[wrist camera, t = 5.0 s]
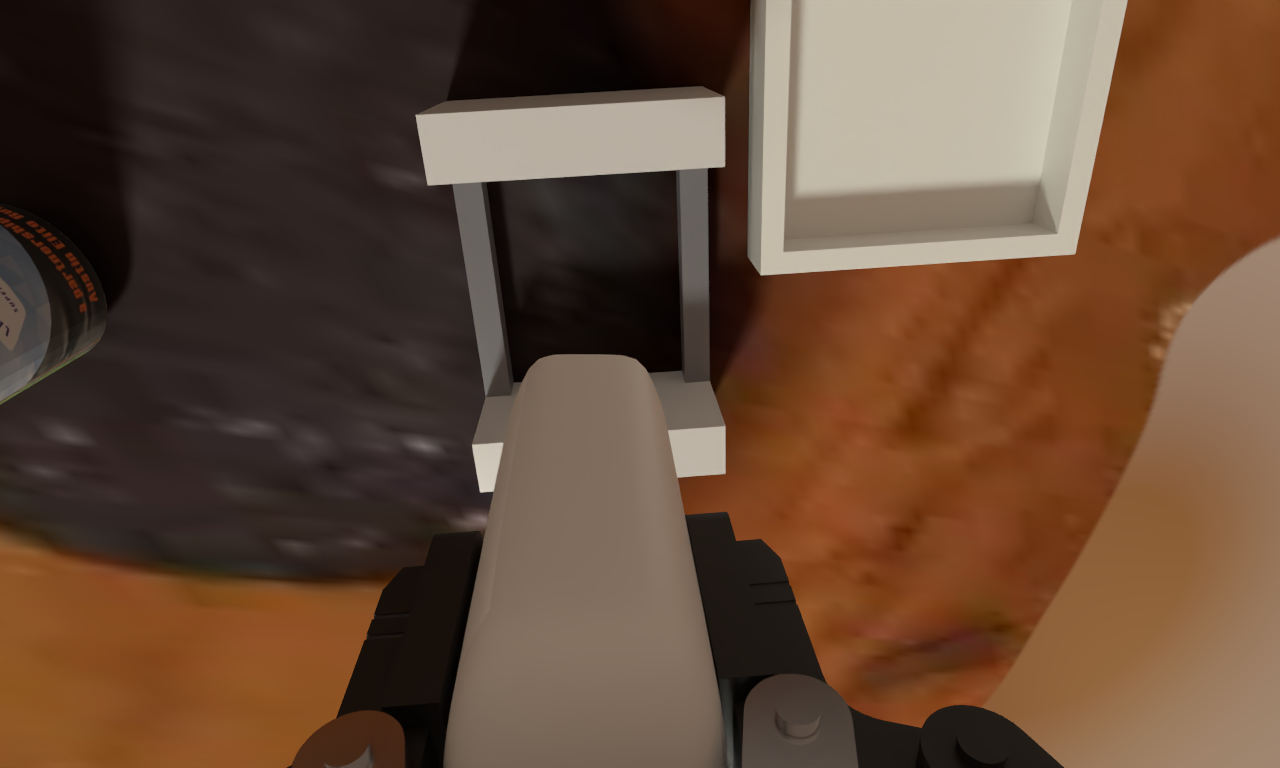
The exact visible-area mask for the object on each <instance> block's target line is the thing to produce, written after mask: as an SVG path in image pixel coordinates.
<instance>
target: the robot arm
mask: <svg viewBox="0 0 1280 768" xmlns="http://www.w3.org/2000/svg"><path fill="white" fill-rule="evenodd" d="M685 519H686V524H687V529H688V534H689V539H690V544H691V549H692V554H693V560H694V565H695V570H696V575H697V580H698V585H699V590H700V595H701V600H702V605H703V610H704V615H705V621H706V626H707V631H708V637H709V642H710V647H711V652H712V658H713V663H714V668H715V674H716V679H717V684H718V690H719V695H720V700H721V707H722V713H723V720H724V727H725V737H726V748H727V768H1064V767H1063V766H1062V765H1060V764H1059V763H1058V762H1057V761H1056V760H1055V759H1054V758H1053V757H1052V756H1050V755H1049V754H1048V753H1047V752H1046V751H1045V750H1044V749H1043V748H1042V747H1040V746H1039V745H1038V744H1037V743H1036V742H1035V741H1034V740H1033V739H1031V738H1030V737H1029V736H1028V735H1027V734H1026V733H1025V732H1024V731H1023V730H1021V729H1020V728H1019V727H1018V726H1016V725H1015V724H1014V723H1013V722H1011V721H1009V720H1008V719H1006V718H1004V717H1003V716H1001V715H999V714H997V713H995V712H992V711H989V710H986V709H984V708H979V707H975V706H967V705H954V706H949V707H945V708H942V709H939V710H937V711H936V712H934V713H933V714H931V715H930V716H929V717H928V718H927V719H926V721H925V723H924V725H923V727H922V728H919V727H914V726H909V725H903V724H898V723H893V722H888V721H883V720H879V719H876V718H872V717H870V716H867V715H864V714H862V713H860V712H858V711H856V710H855V709H853V708H851V707H850V706H848V705H847V704H846V702H845V701H844V699H843V698H842V697H841V696H840V695H839V693H838V692H837V691H835V690H834V689H833V688H832V687H830V686H829V685H828V684H827V683H826V681H825V678H824V676H823V674H822V671H821V668H820V666H819V663H818V660H817V657H816V655H815V652H814V649H813V646H812V644H811V641H810V638H809V635H808V633H807V630H806V627H805V624H804V622H803V619H802V616H801V613H800V610H799V608H798V605H796V599H795V597H794V594H793V591H792V588H791V586H789V580H788V577H787V575H786V572H785V569H784V566H783V564H782V561H781V558H780V557H779V556H778V555H777V554H776V553H775V552H774V551H773V550H772V549H771V548H770V547H769V546H768V545H767V544H765V543H764V542H763V541H762V540H761V539H757V540H744V541H736V539H735V535H734V532H733V528H732V525H731V522H730V518H729V515H728V513H727V512H718V513H706V514H693V515H685ZM482 546H483V539H482V535H481V533H480V532H479V531H473V532H460V533H448V534H436V535H434V537H433V539H432V542H431V545H430V549H429V552H428V555H427V559H426V562H425V565H424V566H416V567H404V568H403V569H402V570H401V571H400V572H399V573H398V574H397V575H396V576H395V577H394V578H393V580H392V581H391V582H390V583H389V584H388V585H387V586H386V587H385V588H384V589H383V591H382V594H381V597H380V599H379V602H378V605H377V608H376V610H375V613H374V620H372V621H371V624H370V627H369V630H368V632H367V640H365V641H364V643H363V646H362V649H361V652H360V654H359V657H358V660H357V663H356V665H355V668H354V671H353V673H352V676H351V679H350V682H349V684H348V687H347V690H346V693H345V695H344V698H343V701H342V704H341V706H340V709H339V712H338V715H337V717H336V719H334V720H332V721H330V722H329V723H327V724H325V725H324V726H322V727H321V728H320V729H318V730H317V731H316V732H315V733H313V734H312V735H311V736H310V737H309V738H308V739H307V740H306V742H305V743H304V744H303V745H302V746H301V748H300V750H299V751H298V753H297V754H296V756H295V759H294V761H293V763H292V765H291V766H289V767H287V768H443V761H444V749H445V741H446V733H447V726H448V720H449V714H450V707H451V702H452V697H453V692H454V687H455V682H456V677H457V672H458V666H459V661H460V656H461V651H462V646H463V641H464V636H465V631H466V626H467V621H468V616H469V611H470V606H471V601H472V596H473V591H474V586H475V581H476V576H477V571H478V566H479V561H480V556H481V551H482Z"/></svg>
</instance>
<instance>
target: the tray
mask: <svg viewBox="0 0 1280 768" xmlns="http://www.w3.org/2000/svg"><path fill="white" fill-rule="evenodd" d="M1127 1H1128V0H751V1H750V85H749V168H748V252H747V257H748V258H749V260H750V261H751V262H752V264H753V265H754V267H755V268H756V269H757V271H758V272H759V274H760V275H773V274H788V273H803V272H818V271H833V270H848V269H862V268H877V267H892V266H907V265H922V264H937V263H952V262H967V261H982V260H996V259H1011V258H1026V257H1041V256H1056V255H1071V254H1075V252H1076V247H1077V243H1078V238H1079V233H1080V228H1081V223H1082V218H1083V214H1084V209H1085V204H1086V199H1087V194H1088V189H1089V185H1090V180H1091V175H1092V170H1093V165H1094V160H1095V156H1096V151H1097V146H1098V141H1099V136H1100V131H1101V127H1102V122H1103V117H1104V112H1105V107H1106V102H1107V97H1108V93H1109V88H1110V83H1111V78H1112V73H1113V68H1114V64H1115V59H1116V54H1117V49H1118V44H1119V39H1120V35H1121V30H1122V25H1123V20H1124V15H1125V10H1126V6H1127Z"/></svg>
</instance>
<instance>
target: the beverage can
mask: <svg viewBox="0 0 1280 768" xmlns="http://www.w3.org/2000/svg"><path fill="white" fill-rule="evenodd" d="M106 322H107V303H106V298H105V293H104V290H103V288H102V285H101V282H100V280H99V278H98V276H97V274H96V272H95V270H94V269H93V267H92V265H91V264H90V263H89V261H88V260H87V258H86V257H85V256H84V254H83V253H82V252H81V251H80V250H79V249H78V247H77V246H76V245H75V244H74V243H73V242H72V241H71V240H70V239H69V238H68V237H66V236H65V235H64V234H63V233H62V232H61V231H59V230H58V229H57V228H55V227H54V226H53V225H51V224H50V223H48V222H47V221H45V220H44V219H42V218H40V217H38V216H36V215H34V214H32V213H30V212H28V211H26V210H23V209H20V208H17V207H15V206H12V205H7V204H2V203H0V404H2V403H3V402H5V401H7V400H8V399H10V398H12V397H13V396H15V395H17V394H18V393H20V392H22V391H23V390H25V389H27V388H28V387H30V386H32V385H33V384H35V383H37V382H38V381H40V380H41V379H43V378H45V377H46V376H48V375H50V374H51V373H53V372H55V371H56V370H58V369H60V368H61V367H63V366H65V365H66V364H68V363H70V362H71V361H73V360H75V359H76V358H78V357H80V356H81V355H83V354H85V353H86V352H88V351H89V350H91V349H92V348H93V347H94V346H95V345H96V344H97V343H98V342H99V341H100V339H101V337H102V335H103V333H104V331H105V327H106Z"/></svg>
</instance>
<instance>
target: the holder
mask: <svg viewBox="0 0 1280 768" xmlns="http://www.w3.org/2000/svg"><path fill="white" fill-rule="evenodd" d="M416 120H417V126H418V132H419V137H420V143H421V149H422V155H423V161H424V167H425V173H426V178H427V184H428V185H443V184H453V190H454V197H455V203H456V209H457V216H458V222H459V229H460V235H461V241H462V248H463V254H464V260H465V267H466V273H467V280H468V286H469V292H470V299H471V305H472V311H473V318H474V324H475V331H476V337H477V343H478V350H479V356H480V363H481V369H482V375H483V382H484V388H485V394H486V399H485V402H484V406H483V409H482V412H481V416H480V419H479V423H478V426H477V430H476V433H475V436H474V440H473V443H472V447H473V453H474V459H475V465H476V471H477V477H478V482H479V488H480V492H491V491H494V487H495V482H496V477H497V473H498V468H499V463H500V458H501V453H502V448H503V443H504V438H505V433H506V429H507V424H508V421H509V417H510V413H511V410H512V407H513V404H514V401H515V398H516V395H517V393H518V390H519V388H520V385H521V383H522V382H516V383H514V380H513V373H512V365H511V358H510V351H509V343H508V336H507V329H506V322H505V314H504V307H503V300H502V293H501V285H500V278H499V271H498V263H497V256H496V249H495V242H494V234H493V227H492V220H491V212H490V205H489V198H488V191H487V183H486V182H491V181H507V180H523V179H539V178H555V177H571V176H587V175H603V174H619V173H635V172H651V171H667V170H676V183H677V217H678V252H679V286H680V321H681V355H682V371H671V372H657V373H648V374H649V376H650V378H651V380H652V382H653V384H654V386H655V389H656V392H657V394H658V397H659V400H660V403H661V406H662V409H663V412H664V416H665V420H666V424H667V429H668V434H669V439H670V444H671V449H672V454H673V459H674V464H675V469H676V474H677V477H689V476H703V475H716V474H725V424H724V421H723V418H722V415H721V412H720V409H719V406H718V403H717V400H716V397H715V394H714V392H713V389H712V386H711V383H710V343H709V254H708V168H716V167H725V97H724V96H722V95H720V94H718V93H716V92H714V91H711V90H709V89H707V88H705V87H703V86H695V87H678V88H661V89H644V90H627V91H610V92H593V93H576V94H559V95H542V96H525V97H508V98H491V99H474V100H457V101H445V102H443V103H441V104H439V105H437V106H434V107H432V108H430V109H428V110H426V111H423V112H421V113H419V114H417V115H416Z"/></svg>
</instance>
